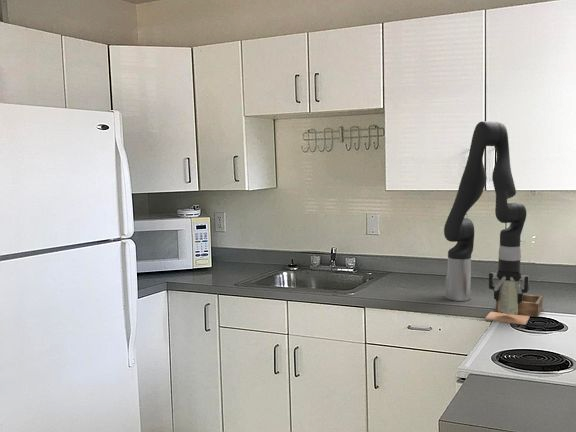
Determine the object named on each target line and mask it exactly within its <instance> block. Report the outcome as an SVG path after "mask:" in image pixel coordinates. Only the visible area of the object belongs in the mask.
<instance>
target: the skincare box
mask: <svg viewBox="0 0 576 432" xmlns="http://www.w3.org/2000/svg"><path fill="white" fill-rule="evenodd" d="M499 282H500V280H499V279H498V283H499ZM518 282H519V281H518ZM518 282H517V281H516V283H517V284H518ZM498 290H499V298H498V311H500V312H499V313H501V312H503V313H505V314H508V315H509V314H516V315H517V314H518V293H519V292H518V291H517V289H516V288H515V282H514V281H509V280H505V281H504V282H503V283H502V285H501V286H500V287H499V289H498Z"/></svg>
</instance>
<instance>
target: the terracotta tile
mask: <svg viewBox="0 0 576 432" xmlns="http://www.w3.org/2000/svg"><path fill="white" fill-rule="evenodd" d="M530 317H531V316H525V315H517V314H509V315H508V314H505V313H501V312H496V311H490V312H489V313H488V314H487V315H486V316H485V318H484V320H485V321H492V322H498V323H499V322H501V323H506V324H507V323H509V324H515V325H522V326H526V324H527V323H528V322H529V319H530Z"/></svg>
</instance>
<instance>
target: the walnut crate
mask: <svg viewBox="0 0 576 432" xmlns="http://www.w3.org/2000/svg"><path fill="white" fill-rule="evenodd" d="M543 299H544V296H542V295H536V294H535V295H534V294H526V293H523V300H522V302H521V303H520V304H518V314H516V315H524V316H530V317H535V318H538V317H539V316H540V314H541V311H542V310H543V302H544V301H543ZM495 305H496V306H495V312H499V313H501V312H500V311H498V301H496V300H495Z"/></svg>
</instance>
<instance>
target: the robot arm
mask: <svg viewBox="0 0 576 432" xmlns="http://www.w3.org/2000/svg"><path fill="white" fill-rule="evenodd" d="M487 147H494V149H495V151H496V153H495V154H496V161H495V164H494V167H493V170H492V177H491V179H492V183H493V188H494V192H495V209H494V211H495V217H496V219H497V221H499V222H500V223H502V224H507V223H509V224H510V225H509V227H506V228H504V229H502V230H500V231H499V232H500V233H499V247H498V268H497V269H498V270H497V272H494V271H490V272H489V274H488V289H489V290H492V291H493V299H494V300H495V302H496V301H498V298H499V287H500V286H501V285H502V283H503V282H504V281H505V280H509V281H514V282H515V288H516V289H517V291H518V304H520V303H521V302H522V300H523V294H526V293H528V291H530V275H528V274H527V275H522V273H521V258H522V255H521V254H522V253H521V236H522V232H523V228H524V225H525V223H526V218H527V209H526V206H525V205H524V204H523V203H521V202H508V199H512V198H513V197H514V196H516V194H517V189H516V186H515V180H514V178H513V173H512V168H511V159H510V158H511V157H510V146H509V134H508V130H507V126H506V125H505V123H504V122H502V121H487V120H483V121H482V120H481V121H479V122H478V123H477V124H476V126H475V127H474V130H473V134H472V137H471V142H470V147H469V153H468V156H467V160H466V164H465V167H464V169H463V172H462V173H463V174H462V176H461V179H460V183H459V186H458V190H457V191H456V192H457V193H456V196H455V198H454V202H453V204H452V208H451V209H450V211H449V214H448V216H447V219H446V221H445V224H444V226H443V227H444V228H443V235H444V238H445V239H446V241H448V242H452V243H455V242H456V244H455V245H454V246H453V247H451V248H449V250H448V251H447V275H446V276H445V299H447V300H451V301H457V302H465V301H466V302H467V301H469V300H470V299H471V283H472V281H471V280H472V279H471V278H472V277H471V274H472V273H471V272H472V253H473V252H474V241H475V225H474V223H473V221H472V220H471V219H470V218H468V217H466V214H467V213H468V212H469V210H470V209H472V207H473V206H474V205H475V204H476V203H477V201H478V200H479V199H480V198H481V197H482V195H483V193H484V189H485V187H486V183H487V180H488V178H487V172H486V170H485V165H484V162H483V159H484V158H483V157H484V153H485V150H486V148H487ZM496 277H497V280H498V283H497V284H496V285H494V281H495V280H494V279H495V278H496ZM499 280H500V282H499ZM520 280H522V282H524V285H523V288H522V286H521V284H520V282H519V281H520ZM516 281H517V282H518V284H517V283H516Z"/></svg>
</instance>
